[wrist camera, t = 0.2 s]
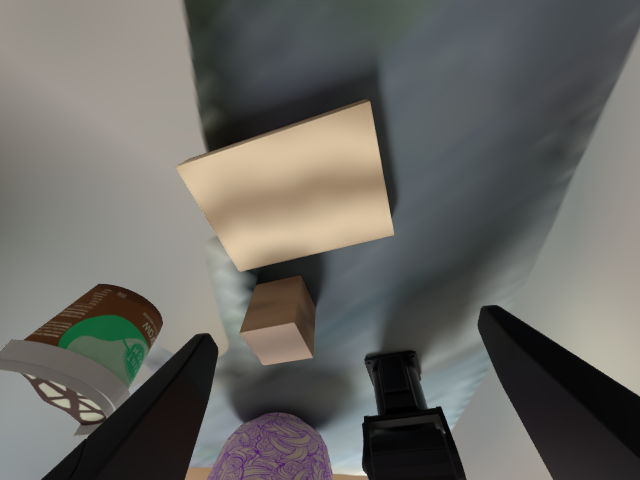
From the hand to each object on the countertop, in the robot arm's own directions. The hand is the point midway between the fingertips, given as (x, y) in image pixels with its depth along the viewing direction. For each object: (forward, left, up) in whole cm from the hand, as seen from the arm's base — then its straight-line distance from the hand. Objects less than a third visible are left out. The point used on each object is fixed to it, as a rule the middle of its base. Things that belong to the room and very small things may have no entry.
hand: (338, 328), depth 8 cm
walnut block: (-11, +8, -14) cm, 20 cm away
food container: (-9, +25, -15) cm, 30 cm away
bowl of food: (-39, +20, -15) cm, 46 cm away
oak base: (0, +3, -14) cm, 15 cm away
